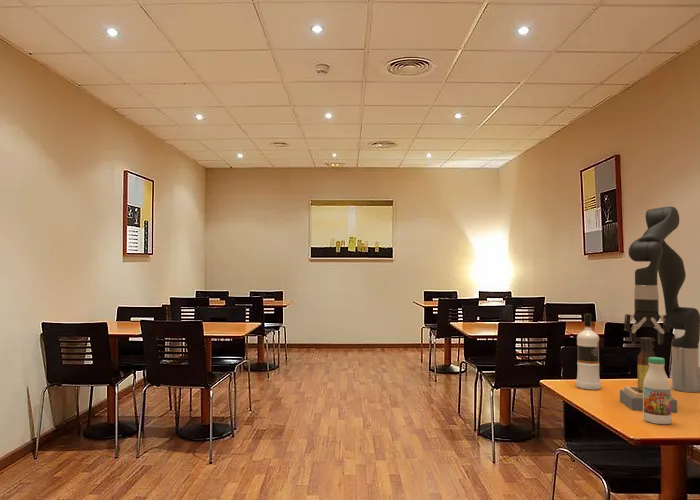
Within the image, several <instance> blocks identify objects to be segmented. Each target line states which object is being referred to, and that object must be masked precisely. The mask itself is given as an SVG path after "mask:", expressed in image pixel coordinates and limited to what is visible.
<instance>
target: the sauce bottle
mask: <svg viewBox="0 0 700 500" xmlns="http://www.w3.org/2000/svg"><path fill="white" fill-rule="evenodd" d="M639 342H640V352H639V353H638V355H637V357H636V358H637V366H636V367H637V387H638V389H639V393H643V382H644V378H645V376H646V374H647V372H648V369H649V364H648V363H649V362H648V358H649V357H656V354H655V352H654V348H653V343H654V338H652V337H640V338H639Z"/></svg>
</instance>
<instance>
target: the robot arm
mask: <svg viewBox="0 0 700 500" xmlns="http://www.w3.org/2000/svg"><path fill="white" fill-rule="evenodd" d="M645 223H646V226H647V229H646V230H645V231H644V233H643V235H642V236H641V237H639V238H637V239H636V240H634V241H632V242H631V244H630V246H629V247H628V257H629V258H630V259H631V260H632V261H633V262H641V263H642V262H644V263H645V262H649V265H648V266H646V267H641V268H637V269H636V270H635V271H634V290H633V292H634V294H633V296H634V303H633V305H634V312H633V313H634V314H628V313H625V314H624V321H623V325H624V326H623V330H624V331H626V332H628V333H629V340H630V343H632V344H633V345H637V333H636V332H637V330H639V329H640V328H642V327H643V328H647V327H649V328H654V329H655V330H656V331H657V344H658V345H660V346H661V345H663V344H664V343H665V333H670V332H671V329H674V330H680V331H684V334H683V335H682V336H679V337H676V338H673V339H672V340H671V381H672V382H671V388H672V389H671V390H675V391H678V392H685V393H699V392H700V366H699V365H700V364H699V361H700V360H699V346H700V345H699V343H700V312H699V310H698V308H695V307H686V306H683V307H682V306H680V305H679V301H678V300H679V299H678V295H679V292H680V290H681V289H682V286H683V285H684V283H685V280H686V275H687V274H686V269H685V264H684V261H683V258H682V257H681V256H680V255H679V254H678V253H677V252H676V251H675V249H673V248H672V247H671V246H669V245H668V243H667V242H666V238H667V237H668V236H670V235H671V234H672V233H673V232H674V231H675V230H676V229H678V227H679V224H680V213H679V211H678V210H677V208H676V207H675V206H662V207H657V208H656V207H655V208H650V209H648V210H646V212H645ZM658 276H659V280H660V283H661V285H660V286H661V288H662V295H663V301H664V308H665V309H664V310H665V311H664V312H665V314H661V315H660V313H659V312H660V311H659V310H660V309H659V297H660V296H659V287H658ZM633 319H634V321H635V322H634V323H633V324H632V326H631V321H632V320H633ZM660 319H661V321H662V324H663V327H662V326H661V325H660V324H659V321H660Z"/></svg>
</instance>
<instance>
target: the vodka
mask: <svg viewBox="0 0 700 500" xmlns="http://www.w3.org/2000/svg"><path fill="white" fill-rule="evenodd" d="M583 318H584V320H583V321H584V323H583V324H584V329H583V330H582V331H580V332H579V333H578V334H577V335H576V346H577V362H576V365H577V372H576V373H577V374H576V381H575V385H576V387H577V388H578V389H582V390H587V391H588V390H589V391H597V390H599V389H601V388H602V383H601V380H600V379H601V378H600V349H599V347H600V346H599V345H600V344H599V343H600V336H599V335H598V334H597V333H596V332H595V331H593V330H592V314H591V313H585V314H584V316H583Z"/></svg>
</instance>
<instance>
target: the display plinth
mask: <svg viewBox="0 0 700 500" xmlns="http://www.w3.org/2000/svg"><path fill="white" fill-rule="evenodd" d="M619 401H620V402H621V403H623V404H624V405H625V406H626V407H628V408H629V409H631V411H642V412H643V393H639V389H638V386H632V385H630V386H629V385H628V386H626V385H624V386H623V389H619ZM671 413H678V400H677V399H676V398H673V395H672V394H671Z"/></svg>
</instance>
